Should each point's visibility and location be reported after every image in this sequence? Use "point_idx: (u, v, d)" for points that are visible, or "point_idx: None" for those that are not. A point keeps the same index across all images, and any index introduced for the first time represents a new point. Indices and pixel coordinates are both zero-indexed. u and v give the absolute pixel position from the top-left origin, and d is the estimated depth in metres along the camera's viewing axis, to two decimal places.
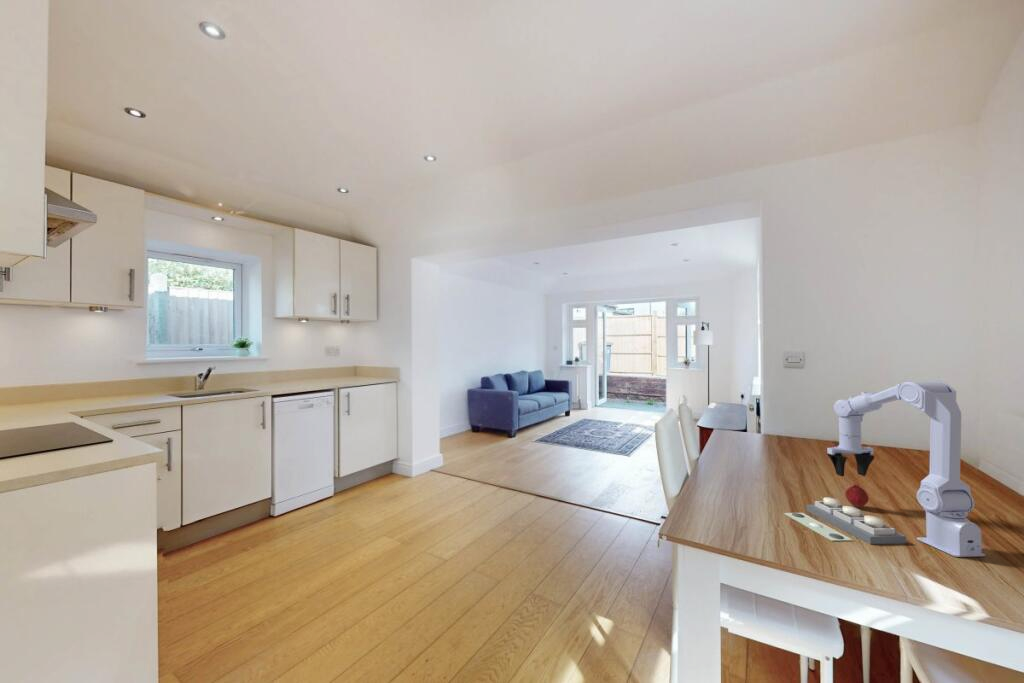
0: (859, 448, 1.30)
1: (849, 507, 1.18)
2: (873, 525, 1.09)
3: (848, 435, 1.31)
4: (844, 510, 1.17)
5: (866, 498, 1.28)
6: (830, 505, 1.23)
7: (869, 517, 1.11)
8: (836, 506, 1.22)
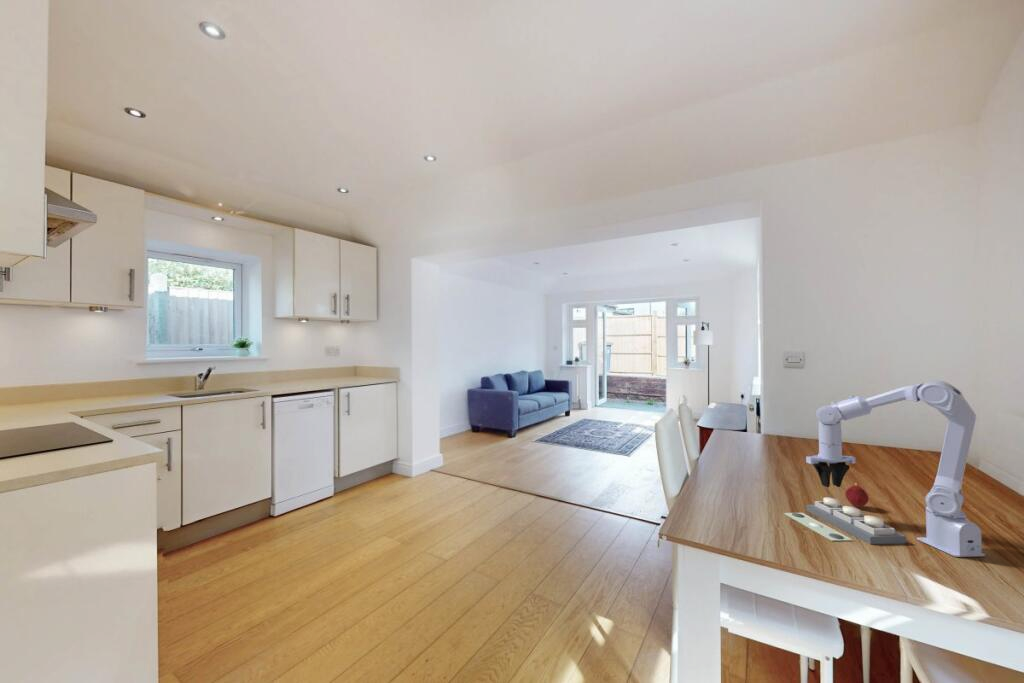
0: (839, 457, 1.22)
1: (849, 507, 1.18)
2: (873, 525, 1.09)
3: (835, 444, 1.22)
4: (844, 510, 1.17)
5: (866, 498, 1.28)
6: (830, 505, 1.23)
7: (869, 517, 1.11)
8: (836, 506, 1.22)
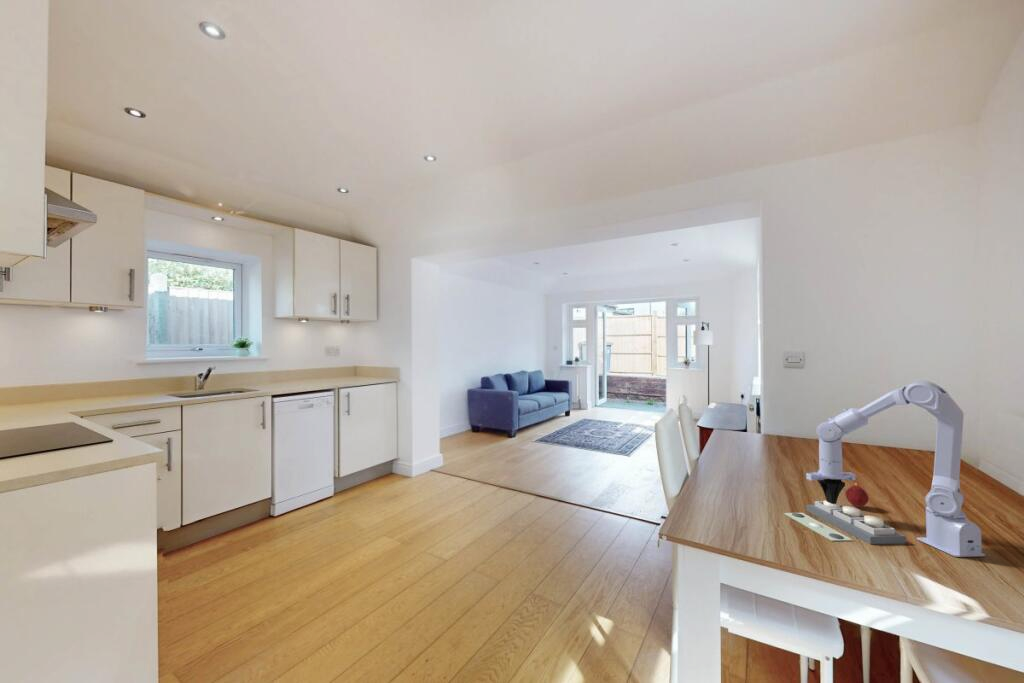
0: (840, 474, 1.21)
1: (849, 507, 1.18)
2: (873, 525, 1.09)
3: (835, 461, 1.22)
4: (844, 510, 1.17)
5: (866, 498, 1.28)
6: None
7: (869, 517, 1.11)
8: None
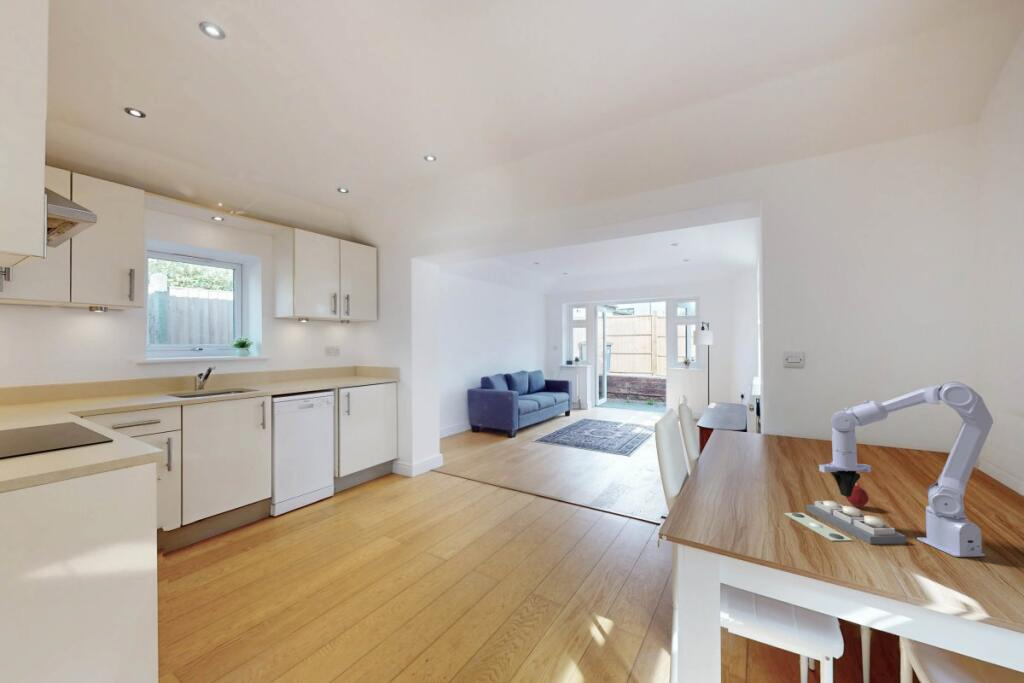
0: (854, 466, 1.16)
1: (849, 507, 1.18)
2: (873, 525, 1.09)
3: (851, 452, 1.17)
4: (844, 510, 1.17)
5: (866, 498, 1.28)
6: None
7: (869, 517, 1.11)
8: None
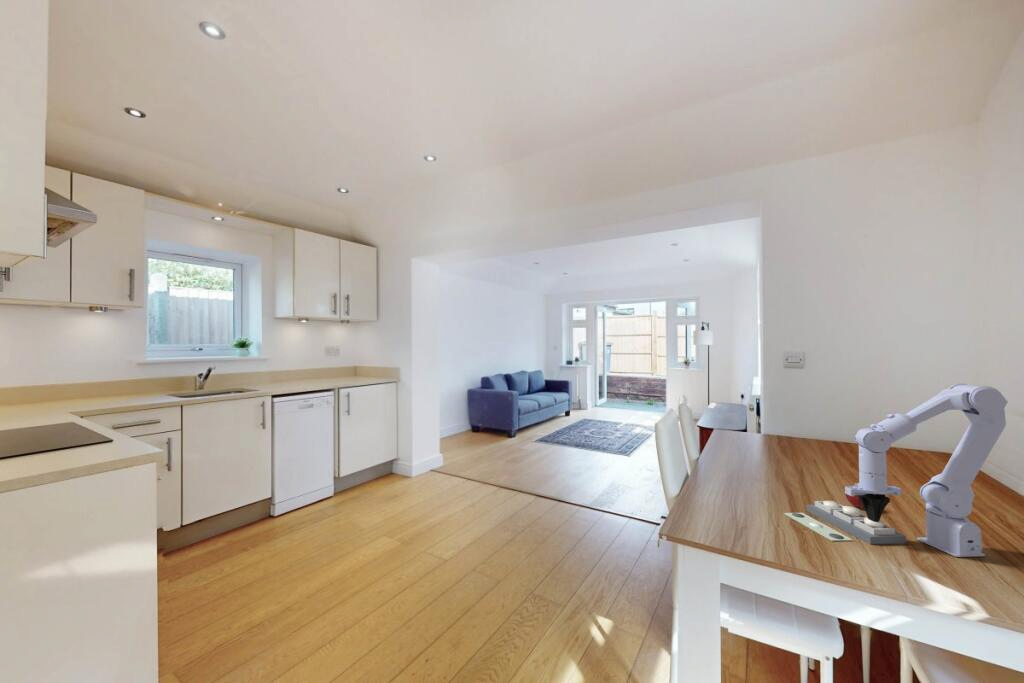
0: (884, 489, 1.07)
1: (849, 507, 1.18)
2: (873, 527, 1.09)
3: (884, 474, 1.08)
4: (844, 510, 1.17)
5: None
6: None
7: None
8: None
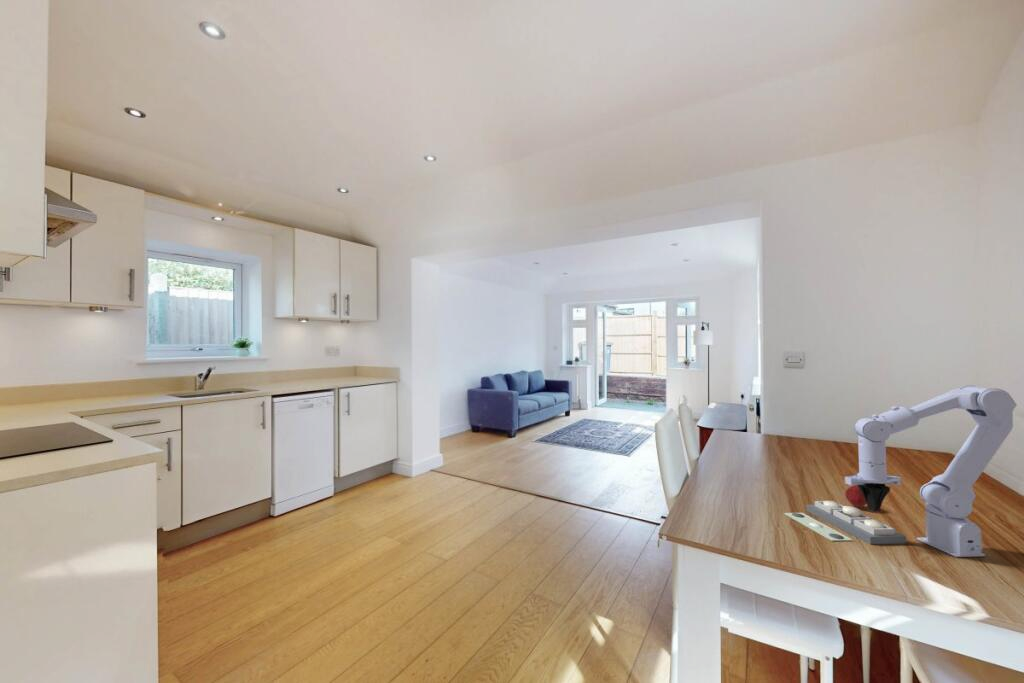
0: (884, 478, 1.08)
1: (849, 507, 1.18)
2: None
3: (884, 463, 1.08)
4: (844, 510, 1.17)
5: None
6: None
7: (869, 521, 1.11)
8: None
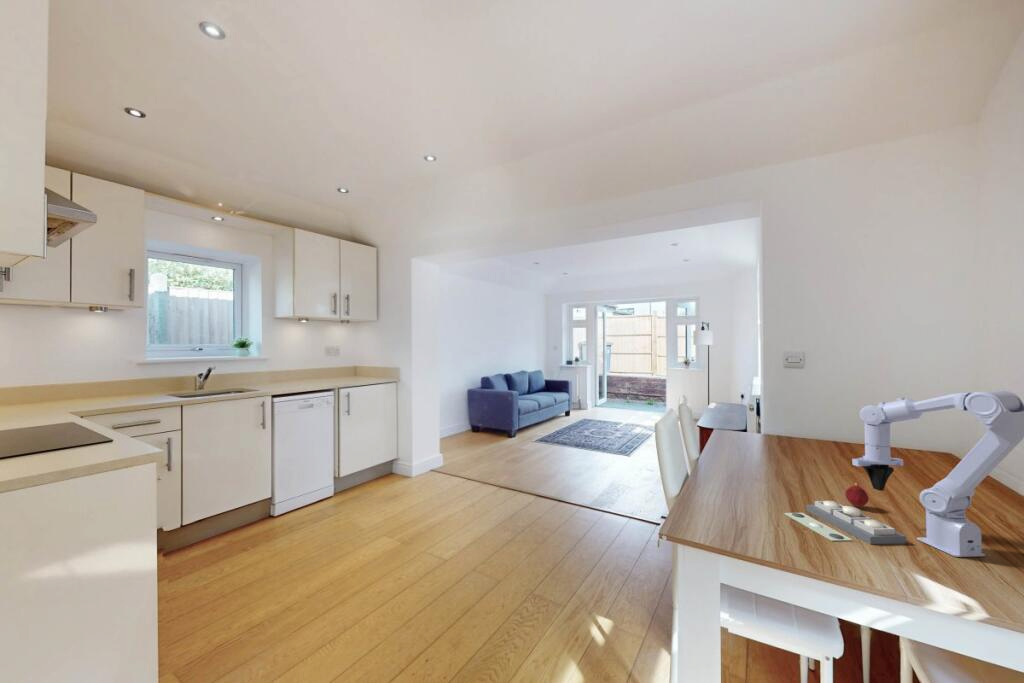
0: (888, 459, 1.16)
1: (849, 507, 1.18)
2: None
3: (879, 445, 1.17)
4: (844, 510, 1.17)
5: (866, 498, 1.28)
6: None
7: (869, 521, 1.11)
8: None
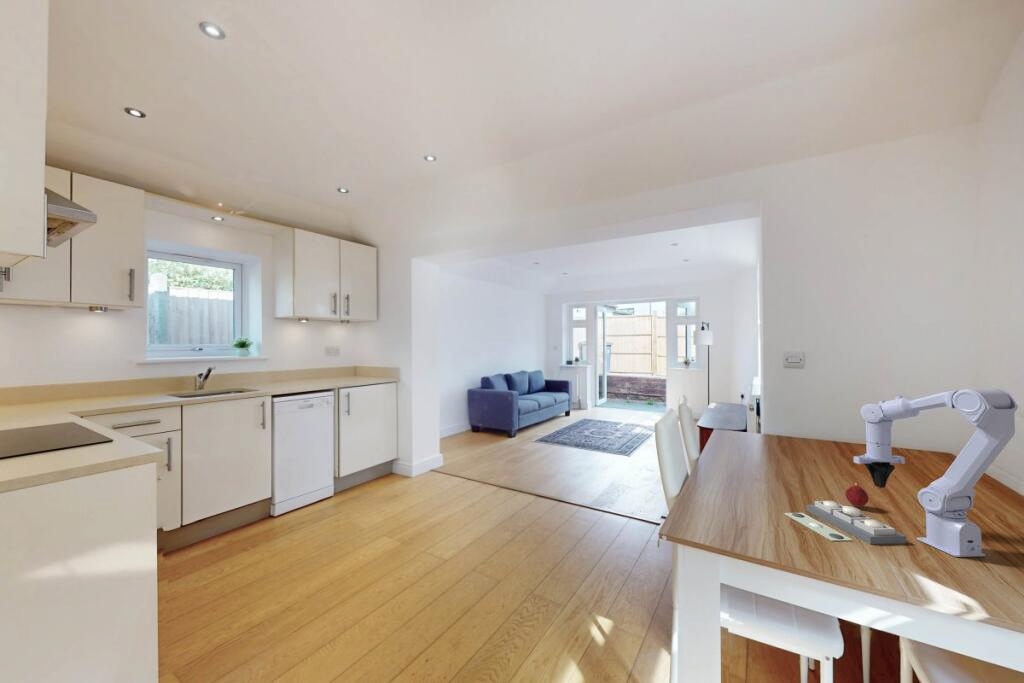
0: (889, 457, 1.18)
1: (849, 507, 1.18)
2: None
3: (878, 443, 1.19)
4: (844, 510, 1.17)
5: (866, 498, 1.28)
6: None
7: (869, 521, 1.11)
8: None
